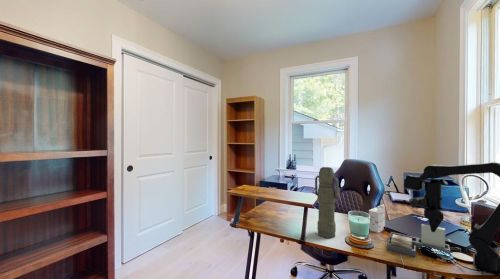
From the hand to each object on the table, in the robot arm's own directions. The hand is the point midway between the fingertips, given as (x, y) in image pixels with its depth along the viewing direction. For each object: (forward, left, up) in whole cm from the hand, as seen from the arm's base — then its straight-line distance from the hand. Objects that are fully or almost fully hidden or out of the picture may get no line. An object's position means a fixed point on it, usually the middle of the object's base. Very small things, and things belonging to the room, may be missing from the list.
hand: (432, 228), depth 97 cm
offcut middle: (+11, +9, -8) cm, 16 cm away
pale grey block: (0, 0, -9) cm, 9 cm away
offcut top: (+11, +9, -6) cm, 15 cm away
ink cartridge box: (+23, -9, -11) cm, 27 cm away
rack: (+5, +4, -10) cm, 12 cm away
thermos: (+43, +12, -11) cm, 46 cm away
